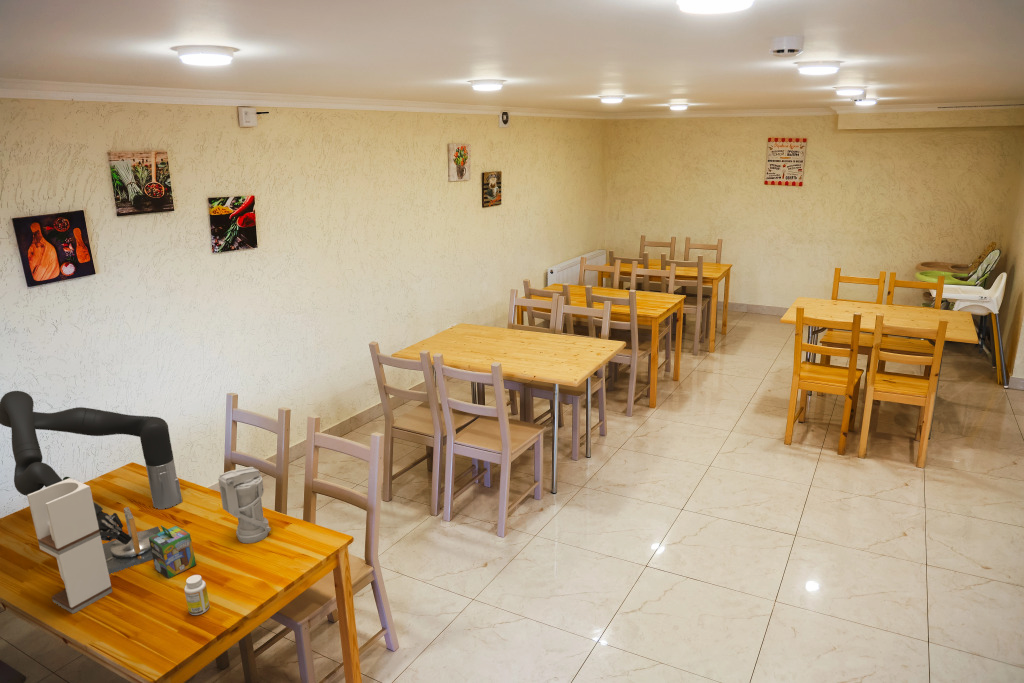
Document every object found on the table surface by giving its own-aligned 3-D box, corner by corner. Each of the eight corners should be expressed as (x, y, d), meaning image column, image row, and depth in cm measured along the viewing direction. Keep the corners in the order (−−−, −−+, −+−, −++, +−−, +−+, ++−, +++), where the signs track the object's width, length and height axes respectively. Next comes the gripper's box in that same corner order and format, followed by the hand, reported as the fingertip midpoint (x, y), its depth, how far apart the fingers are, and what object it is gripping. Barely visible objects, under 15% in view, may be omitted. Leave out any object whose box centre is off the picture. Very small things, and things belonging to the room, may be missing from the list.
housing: (158, 530, 237) (157, 525, 237) (171, 552, 224) (170, 548, 223) (99, 549, 227) (98, 544, 226) (109, 574, 213) (108, 569, 213)
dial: (108, 544, 226) (100, 508, 222) (151, 530, 233) (144, 495, 230) (116, 564, 215) (108, 526, 211) (161, 549, 222) (154, 512, 219)
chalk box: (196, 565, 217) (189, 524, 213) (168, 579, 210) (160, 537, 206) (182, 555, 222) (175, 514, 218) (153, 569, 215) (145, 527, 211)
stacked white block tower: (92, 581, 210) (69, 478, 200) (112, 591, 205) (89, 486, 195) (53, 602, 200) (26, 495, 191) (73, 613, 195) (47, 504, 185)
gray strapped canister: (259, 524, 240) (250, 458, 233) (275, 534, 233) (266, 467, 226) (224, 539, 230) (213, 472, 224) (239, 551, 224) (229, 482, 217)
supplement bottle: (204, 601, 199) (198, 570, 197) (213, 608, 196) (208, 577, 193) (185, 610, 195) (179, 579, 192) (194, 618, 192) (188, 587, 189)
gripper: (84, 507, 221) (130, 538, 225) (63, 529, 208) (112, 561, 213) (98, 491, 220) (144, 522, 224) (78, 512, 207) (127, 545, 212)
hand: (129, 541), depth 218 cm, fingers closed
